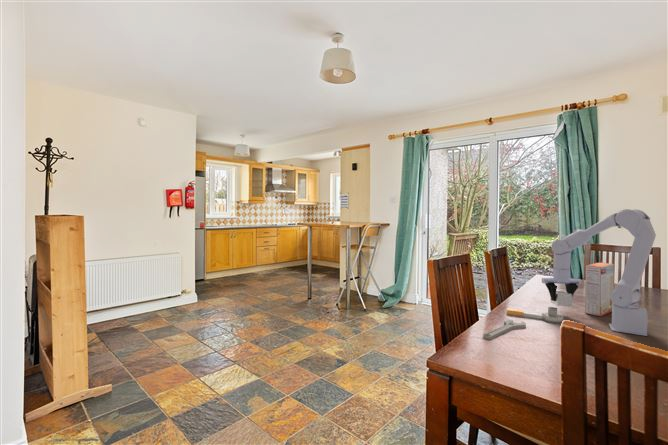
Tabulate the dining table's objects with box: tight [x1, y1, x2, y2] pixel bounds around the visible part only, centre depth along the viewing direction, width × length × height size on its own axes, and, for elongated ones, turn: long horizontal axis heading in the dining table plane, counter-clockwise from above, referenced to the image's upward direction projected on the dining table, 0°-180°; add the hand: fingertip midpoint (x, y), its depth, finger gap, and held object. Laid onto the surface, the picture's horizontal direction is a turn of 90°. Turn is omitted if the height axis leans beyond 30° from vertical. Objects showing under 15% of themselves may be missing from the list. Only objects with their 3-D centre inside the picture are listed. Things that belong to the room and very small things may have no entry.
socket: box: [550, 290, 573, 307], centre depth 137 cm, size 5×5×5 cm
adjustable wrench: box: [482, 319, 526, 340], centre depth 119 cm, size 25×6×2 cm, turn 122°
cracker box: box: [584, 262, 615, 317], centre depth 141 cm, size 14×6×21 cm, turn 123°
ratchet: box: [506, 306, 564, 325], centre depth 133 cm, size 20×7×5 cm, turn 57°
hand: (560, 300), depth 137 cm, fingers closed on socket, 5 cm apart
